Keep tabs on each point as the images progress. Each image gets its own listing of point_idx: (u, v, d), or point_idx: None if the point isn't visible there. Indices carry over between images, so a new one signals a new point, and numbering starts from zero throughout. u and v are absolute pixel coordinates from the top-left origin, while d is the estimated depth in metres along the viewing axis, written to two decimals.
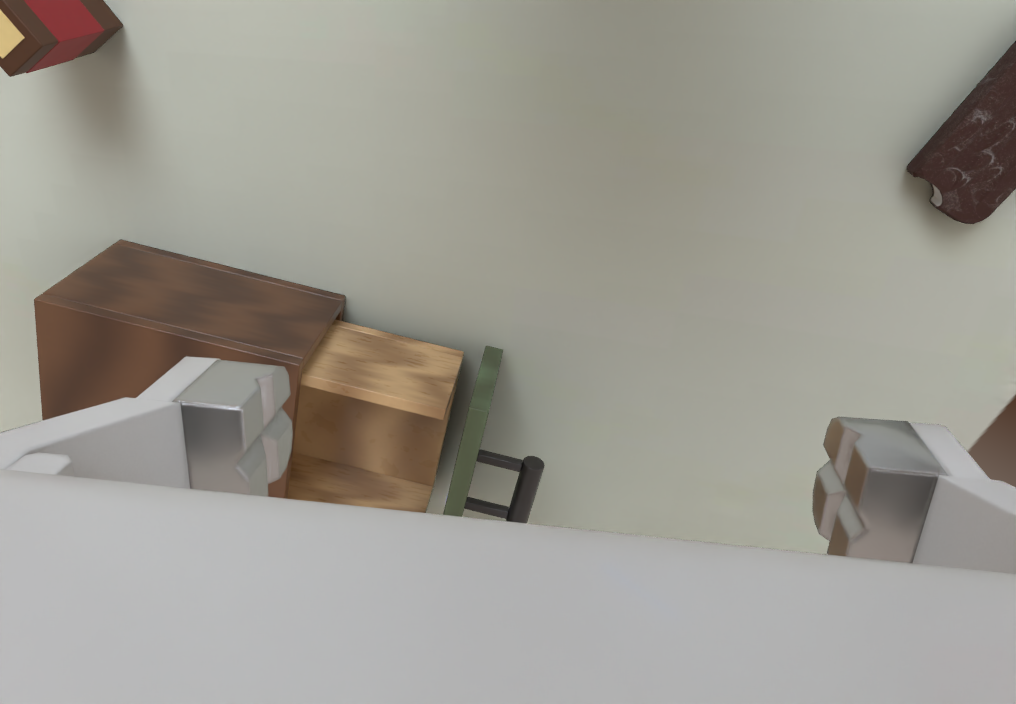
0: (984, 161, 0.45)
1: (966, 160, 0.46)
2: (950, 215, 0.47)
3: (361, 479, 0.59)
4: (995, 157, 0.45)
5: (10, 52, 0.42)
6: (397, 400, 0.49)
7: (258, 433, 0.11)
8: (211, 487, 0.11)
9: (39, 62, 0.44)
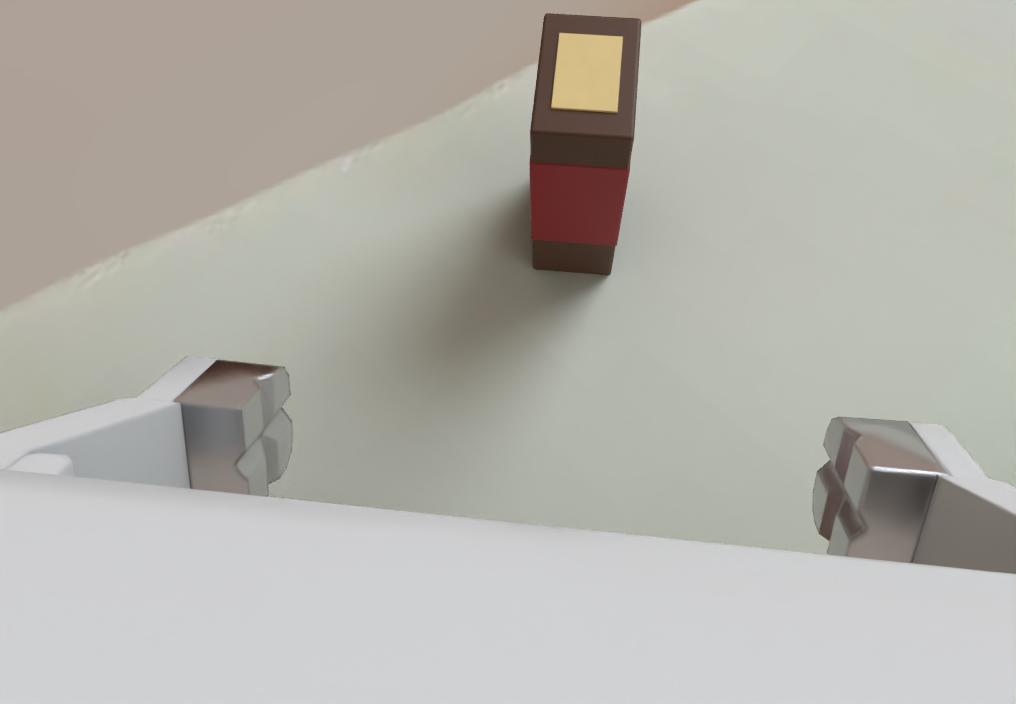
0: None
1: None
2: None
3: None
4: None
5: (572, 110, 0.22)
6: None
7: (258, 433, 0.11)
8: (212, 488, 0.11)
9: (562, 168, 0.24)
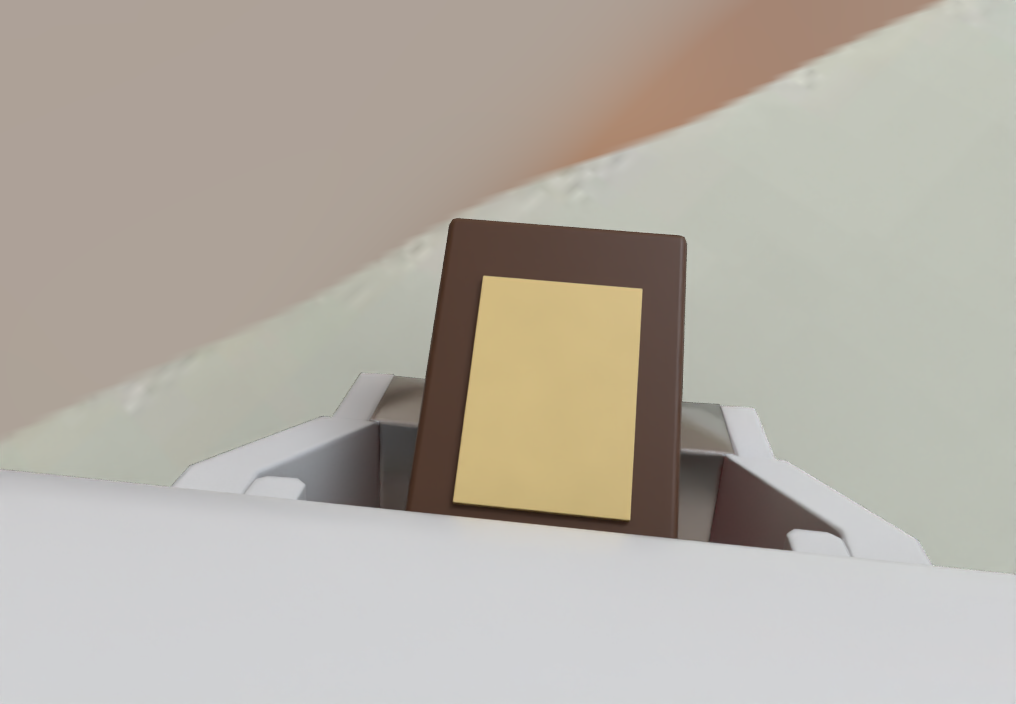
0: None
1: None
2: None
3: None
4: None
5: (510, 512, 0.08)
6: None
7: None
8: (397, 507, 0.11)
9: None
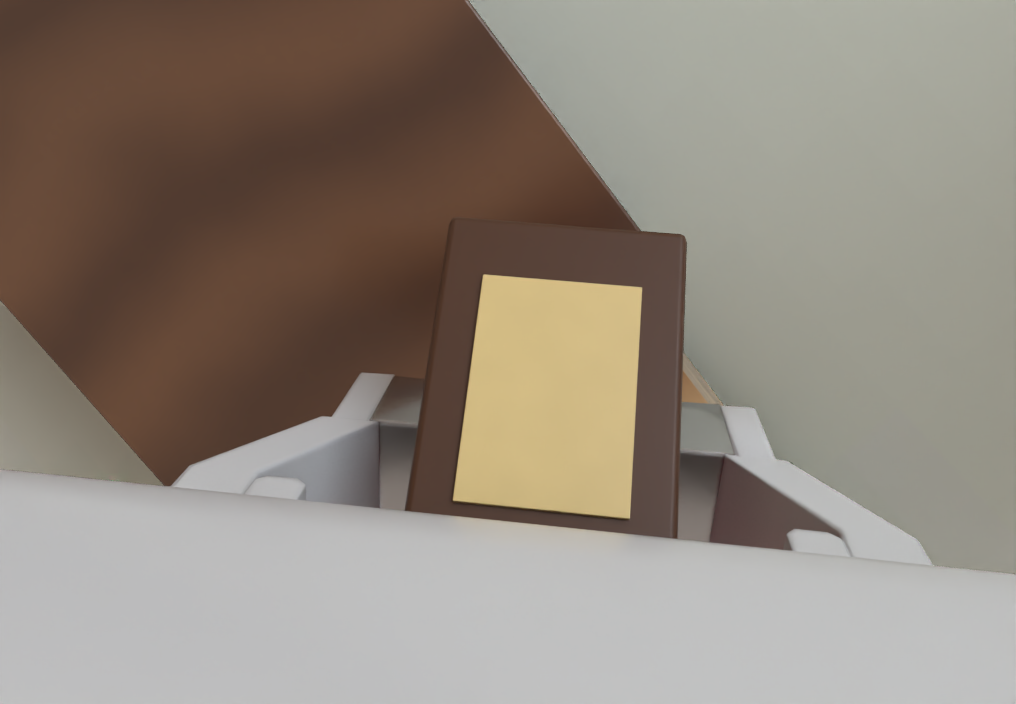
0: None
1: None
2: None
3: None
4: None
5: (510, 510, 0.08)
6: None
7: None
8: (398, 506, 0.11)
9: None
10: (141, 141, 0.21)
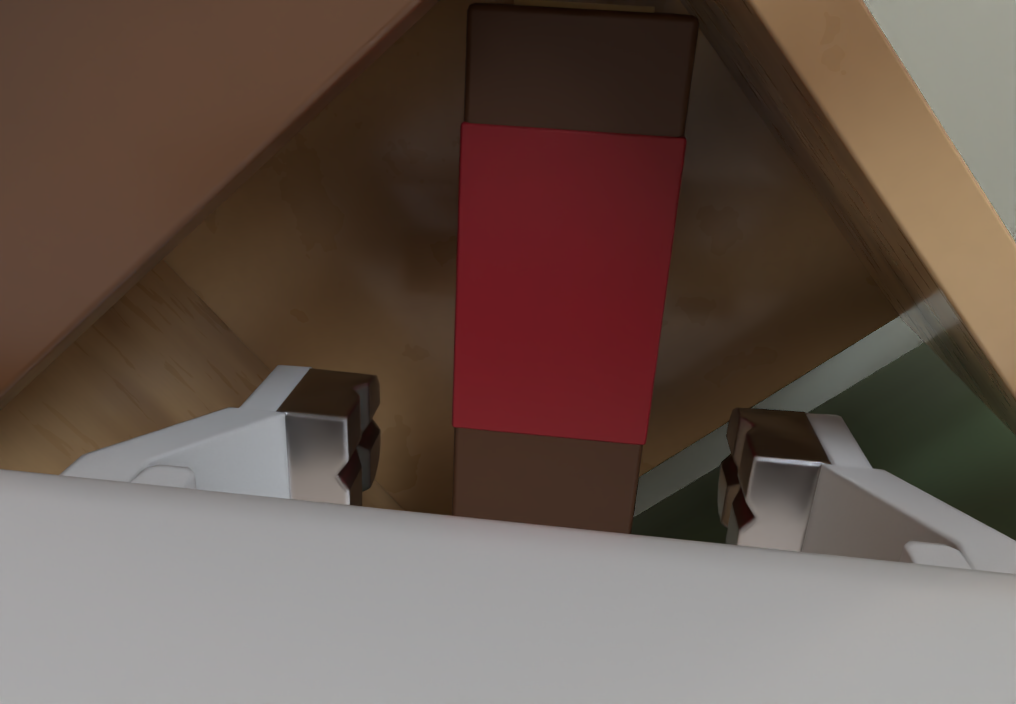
0: None
1: None
2: None
3: None
4: None
5: (559, 4, 0.10)
6: None
7: (357, 443, 0.11)
8: (310, 498, 0.11)
9: (534, 141, 0.10)
10: None
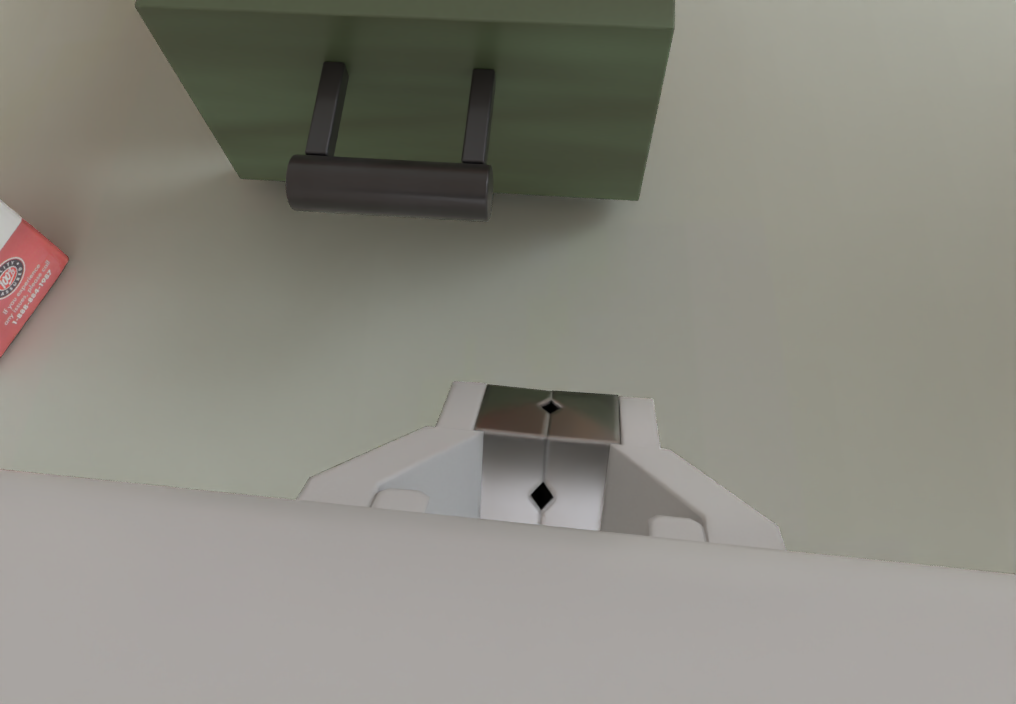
0: None
1: None
2: None
3: None
4: None
5: None
6: None
7: None
8: (496, 517, 0.11)
9: None
10: None
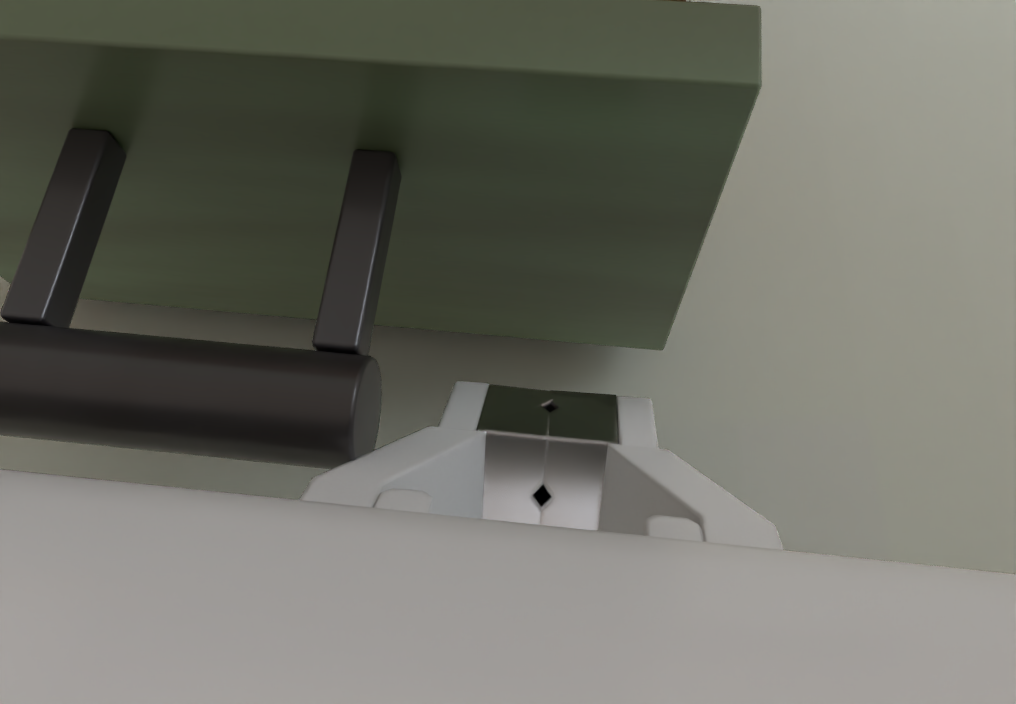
0: None
1: None
2: None
3: None
4: None
5: None
6: None
7: None
8: (499, 517, 0.11)
9: None
10: None
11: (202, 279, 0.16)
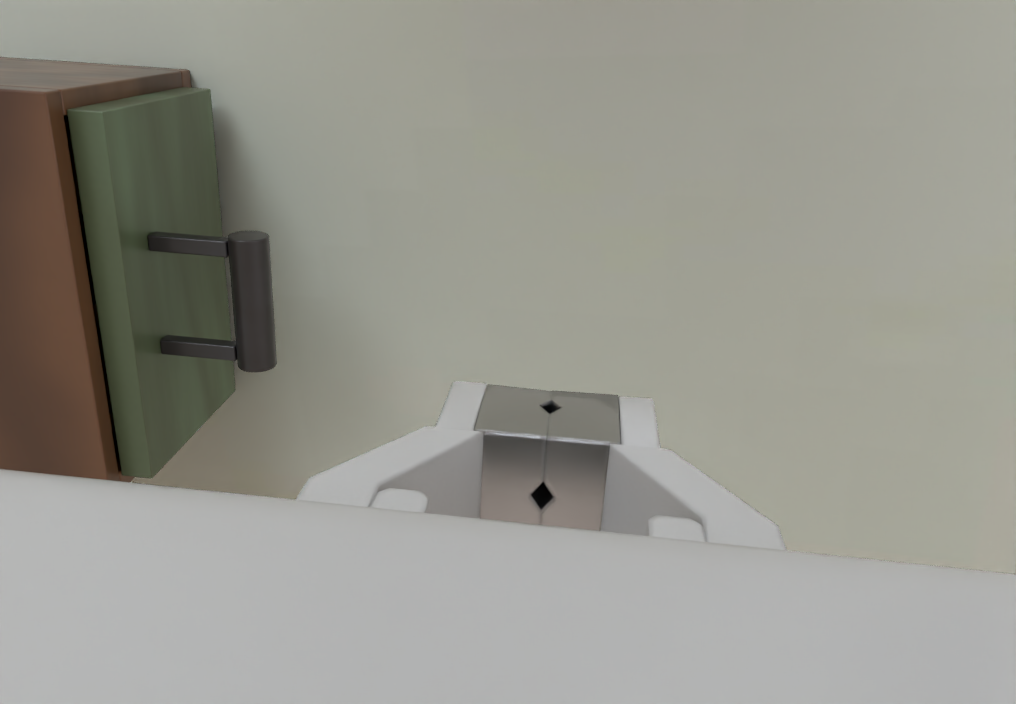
0: None
1: None
2: None
3: None
4: None
5: None
6: None
7: None
8: (496, 517, 0.11)
9: None
10: None
11: (213, 310, 0.35)
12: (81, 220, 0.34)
